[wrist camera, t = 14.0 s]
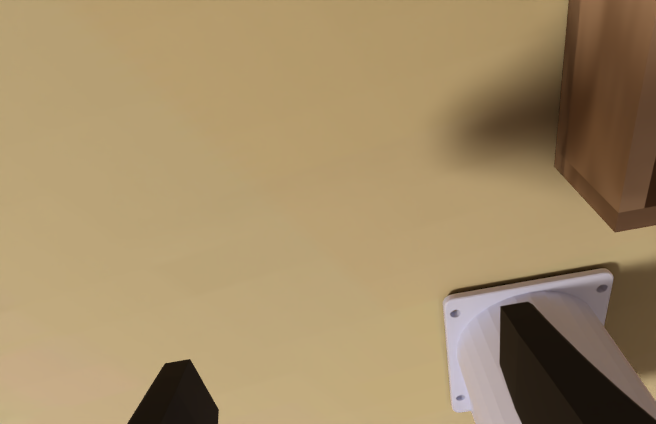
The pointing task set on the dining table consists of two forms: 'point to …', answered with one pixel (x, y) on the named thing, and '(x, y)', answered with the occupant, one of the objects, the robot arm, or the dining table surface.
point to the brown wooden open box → (610, 109)
